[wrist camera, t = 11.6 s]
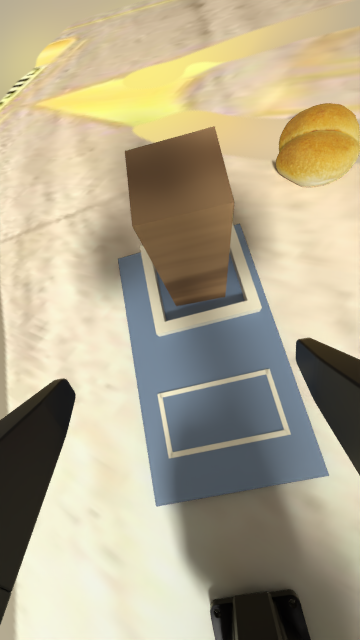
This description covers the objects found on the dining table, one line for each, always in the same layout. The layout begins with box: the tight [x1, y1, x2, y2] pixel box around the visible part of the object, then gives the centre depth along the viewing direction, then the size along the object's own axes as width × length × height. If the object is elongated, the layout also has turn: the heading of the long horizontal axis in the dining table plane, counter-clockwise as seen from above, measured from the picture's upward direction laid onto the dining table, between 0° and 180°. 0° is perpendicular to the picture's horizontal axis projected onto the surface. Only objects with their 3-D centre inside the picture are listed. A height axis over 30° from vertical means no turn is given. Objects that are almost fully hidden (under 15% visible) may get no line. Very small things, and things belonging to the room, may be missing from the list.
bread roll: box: [276, 103, 360, 187], centre depth 24 cm, size 8×9×4 cm
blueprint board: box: [118, 222, 329, 506], centre depth 21 cm, size 24×14×2 cm, turn 12°
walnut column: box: [125, 127, 234, 306], centre depth 18 cm, size 5×5×12 cm
